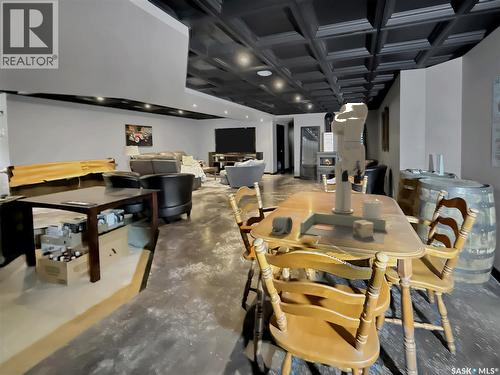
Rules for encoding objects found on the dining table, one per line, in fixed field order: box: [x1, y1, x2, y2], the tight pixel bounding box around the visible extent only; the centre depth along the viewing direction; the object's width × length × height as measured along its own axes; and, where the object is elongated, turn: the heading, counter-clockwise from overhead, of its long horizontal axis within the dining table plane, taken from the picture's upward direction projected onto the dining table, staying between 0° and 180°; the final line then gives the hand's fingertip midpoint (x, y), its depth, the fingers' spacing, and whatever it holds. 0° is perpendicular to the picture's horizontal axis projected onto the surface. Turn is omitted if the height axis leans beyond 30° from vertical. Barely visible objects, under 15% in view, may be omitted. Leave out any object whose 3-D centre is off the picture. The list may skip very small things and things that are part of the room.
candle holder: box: [361, 199, 384, 219], centre depth 146 cm, size 10×10×12 cm
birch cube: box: [353, 220, 373, 237], centre depth 128 cm, size 6×6×6 cm
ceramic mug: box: [271, 215, 294, 236], centre depth 135 cm, size 11×8×8 cm
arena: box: [299, 211, 387, 245], centre depth 134 cm, size 22×36×6 cm, turn 63°
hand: (350, 182), depth 130 cm, fingers open, 9 cm apart
